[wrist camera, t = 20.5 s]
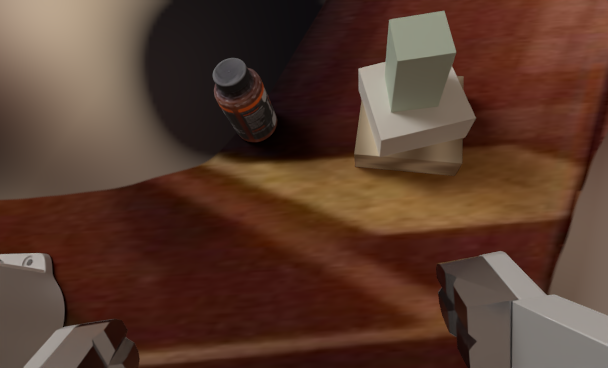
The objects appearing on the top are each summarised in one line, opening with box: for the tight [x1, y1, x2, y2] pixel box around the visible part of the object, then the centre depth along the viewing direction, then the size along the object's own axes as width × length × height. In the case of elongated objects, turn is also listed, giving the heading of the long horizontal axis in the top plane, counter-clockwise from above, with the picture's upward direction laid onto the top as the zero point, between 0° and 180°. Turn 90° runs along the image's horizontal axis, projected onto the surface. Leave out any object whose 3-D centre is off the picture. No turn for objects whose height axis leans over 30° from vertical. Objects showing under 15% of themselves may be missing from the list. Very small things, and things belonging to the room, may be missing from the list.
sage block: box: [385, 11, 456, 112], centre depth 35 cm, size 5×5×8 cm
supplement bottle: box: [213, 58, 277, 142], centre depth 44 cm, size 6×6×11 cm
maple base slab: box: [354, 76, 463, 176], centre depth 44 cm, size 12×12×4 cm
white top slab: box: [359, 62, 476, 157], centre depth 40 cm, size 10×10×4 cm
